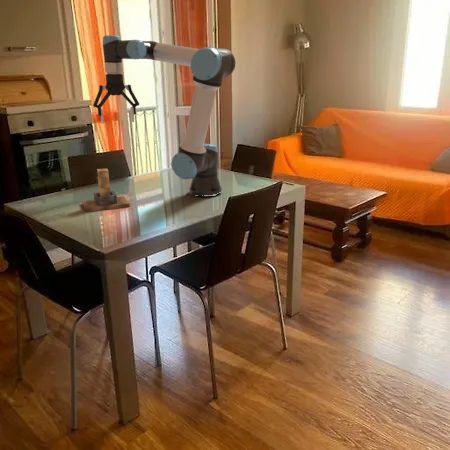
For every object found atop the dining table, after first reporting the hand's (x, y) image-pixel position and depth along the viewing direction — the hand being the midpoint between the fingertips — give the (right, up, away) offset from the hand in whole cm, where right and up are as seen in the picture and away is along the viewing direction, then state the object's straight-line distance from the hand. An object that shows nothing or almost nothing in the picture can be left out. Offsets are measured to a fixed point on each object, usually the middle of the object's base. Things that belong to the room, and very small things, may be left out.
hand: (117, 122), depth 208 cm
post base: (-2, -38, -13) cm, 40 cm away
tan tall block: (-2, -37, -13) cm, 39 cm away
